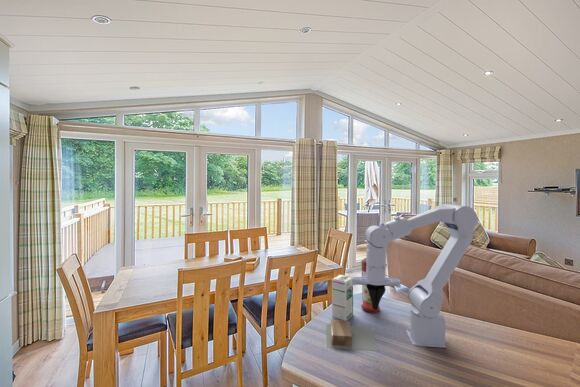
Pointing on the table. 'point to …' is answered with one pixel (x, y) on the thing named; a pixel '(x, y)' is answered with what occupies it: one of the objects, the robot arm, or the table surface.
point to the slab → (341, 333)
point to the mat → (356, 339)
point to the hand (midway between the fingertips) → (374, 308)
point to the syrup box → (342, 297)
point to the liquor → (366, 292)
